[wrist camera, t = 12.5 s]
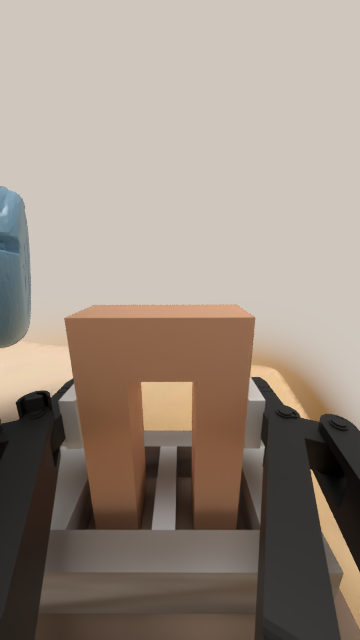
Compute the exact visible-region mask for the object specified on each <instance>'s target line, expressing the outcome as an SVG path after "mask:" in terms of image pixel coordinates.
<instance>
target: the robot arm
mask: <svg viewBox="0 0 360 640" xmlns="http://www.w3.org/2000/svg"><path fill="white" fill-rule="evenodd" d="M30 311H31V276H30V253H29V238H28V227H27V220H26V216H25V205H24V202H23V199H22V198H21V197H20V195H18V194H17V193H15V192H13V191H10V190H8V189H7V188H6V187H4V186H0V348H5V347H9V346H11V345H14V344H16V343H17V342H18V341H20V340H21V339H22V338H23V337H24V336H25V335H26V333H27V331H28V328H29V324H30ZM16 405H17V410H18V414H19V420H17V421H12V422H8V423H3V424H1V420H0V640H35V633H36V626H37V619H38V612H39V605H40V598H41V591H42V584H43V577H44V570H45V563H46V556H47V549H48V542H49V535H50V528H51V521H52V514H53V507H54V500H55V493H56V486H57V479H58V472H59V465H60V458H61V451H60V446H61V445H62V443H63V442H64V440H65V442H66V448H67V449H82V448H83V446H84V443H83V437H82V430H81V423H80V416H79V410H78V403H77V398H76V392H75V386H74V379H72V380H70V381H68V382H67V383H65V384H64V385H63V386H62V387H61V389H59V390H58V391H57V393H55V394H54V395H53V396H52V397H50V393H49V392H48V391H35V392H32V393H29V394H27V395H24V396H23V397H21V398H20V399H19V400H18V401H17V402H16ZM261 440H262V442H263V444H264V446H265V449H264V457H263V465H262V467H263V480H262V500H261V520H260V539H259V559H258V579H257V598H256V618H255V638H254V640H341V637H340V631H339V626H338V620H337V615H336V609H335V604H334V598H333V593H332V587H331V582H330V576H329V571H328V565H327V560H326V554H325V549H324V543H323V538H322V532H321V527H320V521H319V516H318V510H317V505H316V499H315V494H314V488H313V483H312V477H311V471H310V469H311V470H312V471H313V473H314V475H315V477H316V479H317V481H318V483H319V486H320V488H321V490H322V492H323V494H324V496H325V498H326V501H327V503H328V505H329V507H330V509H331V511H332V513H333V516H334V518H335V520H336V522H337V524H338V526H339V528H340V531H341V533H342V535H343V537H344V539H345V541H346V543H347V546H348V548H349V550H350V552H351V554H352V556H353V559H354V561H355V563H356V565H357V567H358V569H359V571H360V431H359V430H358V429H357V427H356V426H355V425H353V424H352V423H351V422H350V421H348V420H346V419H344V418H343V417H340V416H337V415H332V414H324V415H322V416H321V418H320V422H317V421H313V420H308V419H304V418H301V417H300V415H299V413H298V412H297V411H296V410H294V409H292V408H291V407H288V406H285V405H283V403H282V402H281V401H280V399H279V398H278V397H277V395H276V394H275V393H274V392H273V390H272V389H271V388H270V386H269V385H268V383H267V382H266V381H265V380H263V379H262V378H260V377H250V382H249V393H248V399H247V410H246V422H245V433H244V444H243V445H244V448H245V449H260V444H261Z"/></svg>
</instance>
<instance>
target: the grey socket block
mask: <svg viewBox="0 0 360 640" xmlns="http://www.w3.org/2000/svg"><path fill="white" fill-rule="evenodd" d="M144 444H145V461H146V478H147V485H146V492H145V498H144V505H143V511H142V518H141V524H140V530H96V526H95V519H94V513H93V506H92V499H91V493H90V486H89V479H88V473H87V466H86V459H85V452H84V446H83V448H82V449H67V448H66V442H64V443H63V445H62V446H61V448H60V451H61V458H60V465H59V472H58V479H57V486H56V493H55V500H54V507H53V514H52V521H51V528H50V535H49V542H48V549H47V556H46V563H45V570H44V577H43V584H42V591H41V598H40V605H39V612H38V619H37V626H36V633H35V640H254V638H255V618H256V598H257V579H258V559H259V539H260V520H261V500H262V480H263V467H262V465H263V457H264V449H265V446H264V444H263V442H262V440H261V444H260V449H245V448H244V449H243V460H242V471H241V482H240V493H239V504H238V515H237V527H236V530H194V527H193V507H192V487H191V468H192V431H144ZM322 538H323V543H324V549H325V554H326V560H327V565H328V571H329V576H330V582H331V587H332V593H333V598H334V604H335V609H336V615H337V620H338V626H339V631H340V637H341V640H360V630H359V628H358V626H357V624H356V622H355V620H354V618H353V616H352V613H351V611H350V609H349V607H348V605H347V603H346V601H345V599H344V597H343V595H342V593H341V591H340V589H339V586H340V582H341V579H342V576H343V571H342V569H341V567H340V565H339V564H338V562H337V560H336V558H335V556H334V554H333V552H332V550H331V548H330V547H329V545H328V543H327V541H326V539H325V537H324V535H323V533H322Z"/></svg>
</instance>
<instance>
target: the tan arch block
mask: <svg viewBox="0 0 360 640" xmlns="http://www.w3.org/2000/svg"><path fill="white" fill-rule="evenodd" d="M65 325H66V332H67V339H68V345H69V352H70V359H71V366H72V372H73V379H74V386H75V392H76V398H77V403H78V410H79V416H80V423H81V430H82V437H83V443H84V452H85V459H86V466H87V473H88V479H89V486H90V493H91V499H92V506H93V513H94V519H95V526H96V530H140V524H141V518H142V511H143V505H144V498H145V492H146V485H147V478H146V461H145V444H144V427H143V409H142V392H141V382H193V386H192V468H191V487H192V507H193V527H194V530H236V527H237V515H238V504H239V493H240V482H241V471H242V460H243V449H244V445H243V444H244V433H245V422H246V410H247V399H248V393H249V382H250V371H251V359H252V348H253V337H254V325H255V317H254V316H252V315H251V314H249V313H248V312H246V311H245V310H243V309H242V308H240V307H239V306H237V305H93V306H91V307H89V308H86V309H84V310H82V311H80V312H77V313H75V314H73V315H71V316H68V317H66V318H65Z"/></svg>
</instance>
